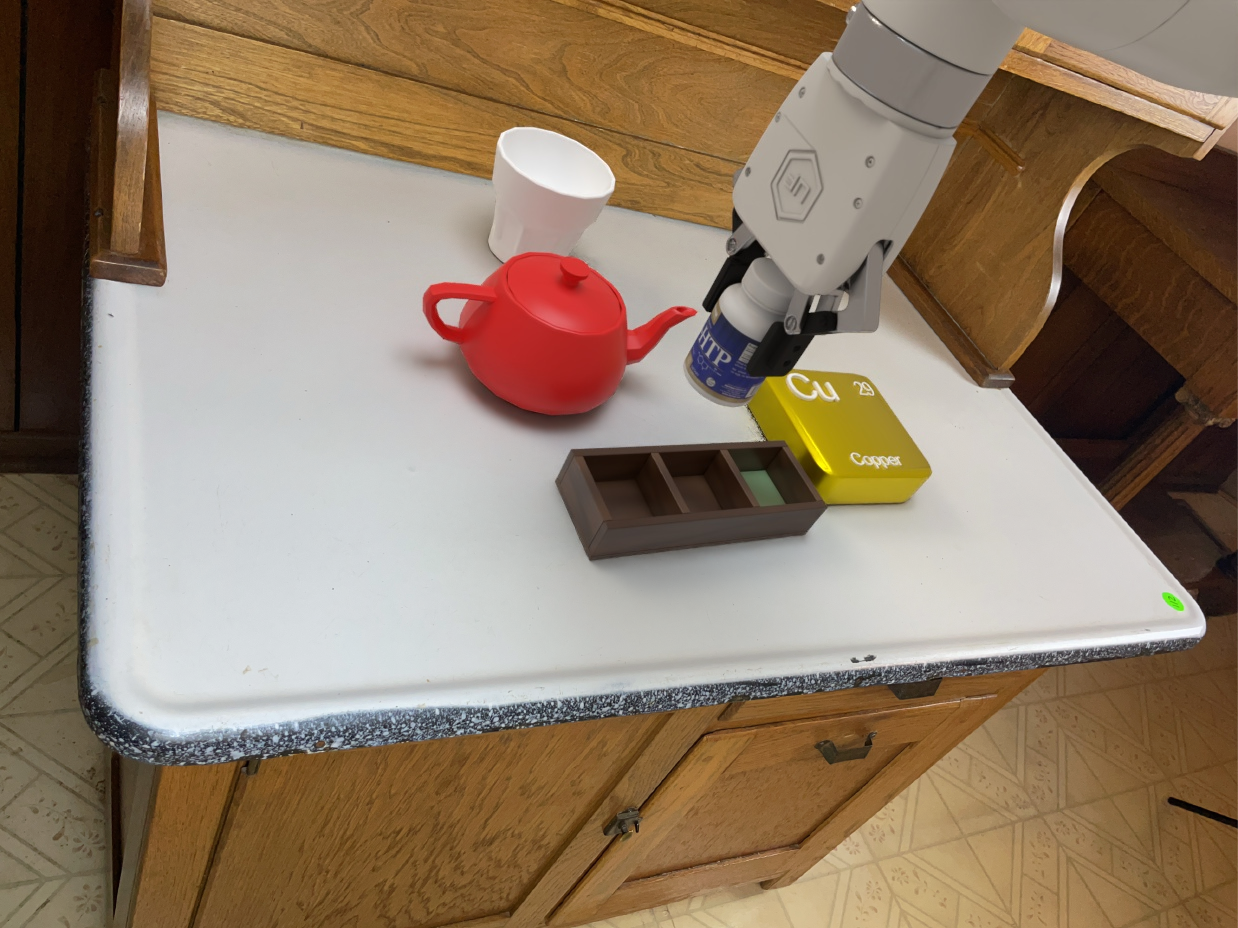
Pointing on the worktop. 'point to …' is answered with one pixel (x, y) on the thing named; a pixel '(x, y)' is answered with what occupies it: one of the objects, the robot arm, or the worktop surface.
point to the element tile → (841, 436)
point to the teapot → (547, 332)
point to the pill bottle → (737, 335)
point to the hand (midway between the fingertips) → (743, 339)
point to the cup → (545, 192)
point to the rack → (685, 496)
